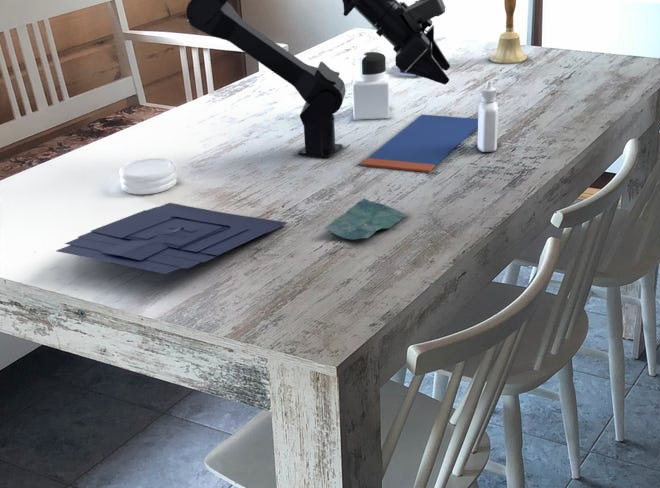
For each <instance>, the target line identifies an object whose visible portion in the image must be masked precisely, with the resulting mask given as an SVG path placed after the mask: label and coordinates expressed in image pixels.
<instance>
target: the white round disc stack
mask: <svg viewBox="0 0 660 488" xmlns="http://www.w3.org/2000/svg"><path fill="white" fill-rule="evenodd" d="M118 172H119V173H118V174H119V176H120V178H119V181H120V183H121V184H120V186H121V189H122V190H123V191H125V192H126V193H128V194H131V195H153V194H159V193H161V192H165V191H167V190H169V189H172V188H173V187H174V186H175V185H177V181H178V178H177V171H176V165H175V163H174V162H173V161H172V160H169V159H166V158H160V157H152V158H149V157H148V158H142V159H137V160H134V161H133V160H132V161H130V162H128V163H125V164H123V165H122V167H121V168H120V169H119V171H118Z"/></svg>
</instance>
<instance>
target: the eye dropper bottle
mask: <svg viewBox="0 0 660 488" xmlns="http://www.w3.org/2000/svg"><path fill="white" fill-rule="evenodd" d="M492 83H493V82H492V80H487V82H486V86H485V87H484V88H482V89H481V102H480V103H479V105H478V111H477V112H478V113H477V114H478V116H477V119H478V128H477V149H478V150H479V151H480V152H482V153H493V152H496V151H497V149H498V132H499V131H498V130H499V104H498V102H496V100H497V99H496V98H497V89H496V88H495V87H493V84H492Z"/></svg>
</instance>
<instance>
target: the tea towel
mask: <svg viewBox="0 0 660 488" xmlns="http://www.w3.org/2000/svg"><path fill="white" fill-rule="evenodd" d="M476 129H478V118H473V117H460V116H459V117H457V116H447V115H433V114H420V116H418V117H416V118H415V119H414V120H412V122H411V123H410V124H408V125H407V126H406V127H405V128H403V129H402V130H401V131H400V132H398V133H397V134H396V135H394V136H393V137H392V138H391V139H389V140H388V141H387V142H386V143H385V144H383V145H382V146H381V147H379V148H378V149H377V150H376V151H375V152H374V153H373V152H372V153H371V155H369V156H368V157H367V158H366V159H364V160H363V161H361V162H360V166H361V167H373V168H381V169H392V170H401V171H402V170H403V171H410V172H411V171H412V172H423V173H430V172H431V171H433V170H434V169H435V168H436V167H437V166H438V165H439V164H440V163H441V162H442V161H443V160H444V159H445V158H447V157H448V156H449V155H450V154H451V153H452V152H453V151H454V150H456V148H457V147H458V146H459V145H460V144H461V143H462V142H464V141H465V140H466V139H467V138H468V137H469V136H471V134H472V133H473V132H475V131H476Z"/></svg>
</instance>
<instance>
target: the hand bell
mask: <svg viewBox="0 0 660 488" xmlns="http://www.w3.org/2000/svg"><path fill="white" fill-rule="evenodd" d="M503 4H504V5H503V6H504V11H505V15H506V20H505V32H502V33H501V34H500V35H499V36H498V37H499V39H498V44H497V47H496V49H495V52H494V53H493V54H492V55H491V56H490V58H489V59H490V61H491V62H493V63H495V64H504V65H507V64H508V65H511V64H518V63H522V62H525V61H526V60H527V59H528V57H527V55H526V53H524V51H523V50H522V46H521V39H520V34H518V33H517V32H515V31H514V30H515V29H514V14H515V11H516V8H517V7H516V6H517V0H504V3H503Z"/></svg>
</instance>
